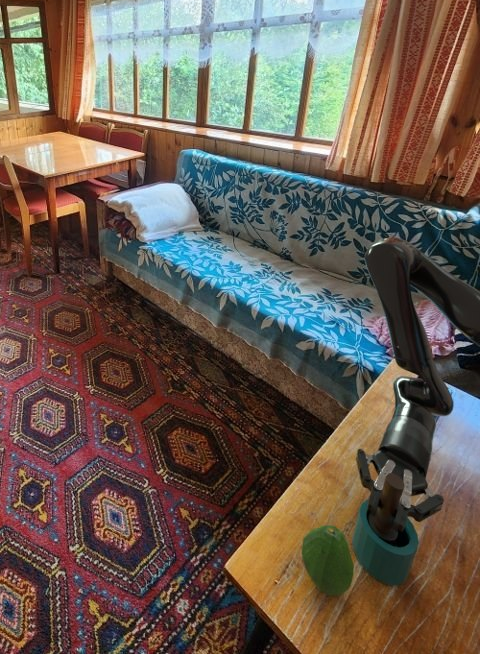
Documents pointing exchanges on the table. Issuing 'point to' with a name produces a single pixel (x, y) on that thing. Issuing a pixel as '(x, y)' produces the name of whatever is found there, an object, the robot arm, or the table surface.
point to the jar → (384, 550)
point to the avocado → (328, 560)
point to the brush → (387, 509)
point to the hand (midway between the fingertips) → (384, 519)
